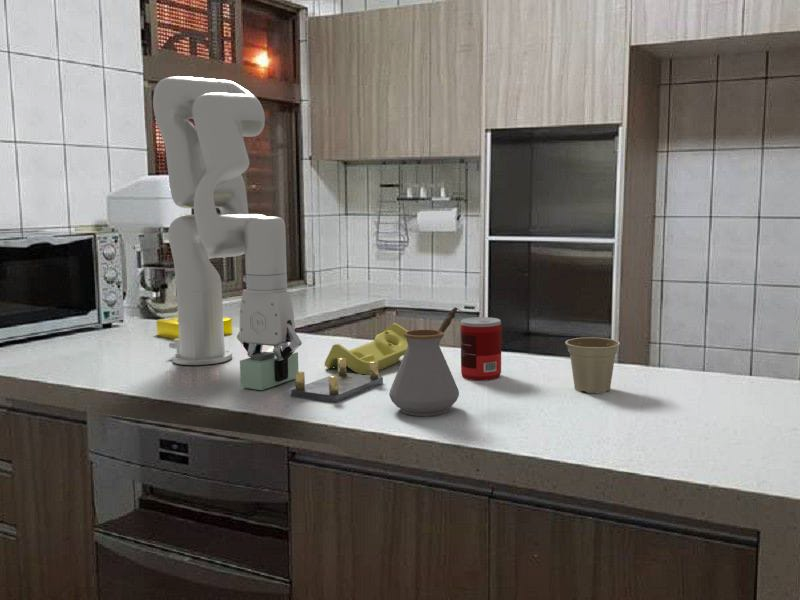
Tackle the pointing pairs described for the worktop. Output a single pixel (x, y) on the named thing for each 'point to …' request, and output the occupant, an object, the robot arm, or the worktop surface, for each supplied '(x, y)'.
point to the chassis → (336, 384)
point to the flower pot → (592, 363)
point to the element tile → (171, 327)
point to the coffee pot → (425, 374)
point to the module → (264, 370)
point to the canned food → (481, 348)
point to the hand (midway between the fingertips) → (269, 377)
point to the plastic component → (372, 351)
